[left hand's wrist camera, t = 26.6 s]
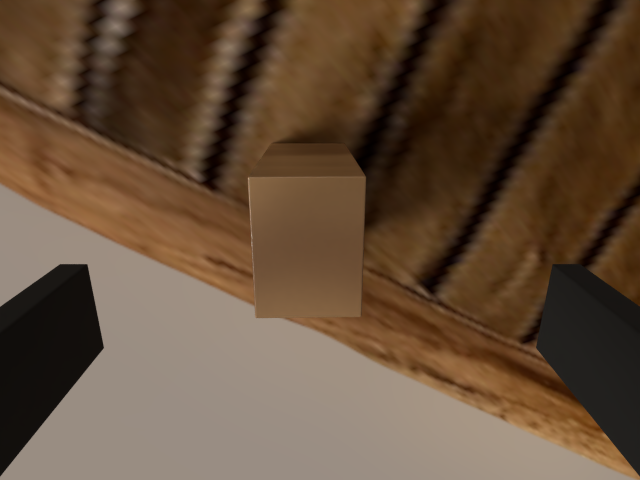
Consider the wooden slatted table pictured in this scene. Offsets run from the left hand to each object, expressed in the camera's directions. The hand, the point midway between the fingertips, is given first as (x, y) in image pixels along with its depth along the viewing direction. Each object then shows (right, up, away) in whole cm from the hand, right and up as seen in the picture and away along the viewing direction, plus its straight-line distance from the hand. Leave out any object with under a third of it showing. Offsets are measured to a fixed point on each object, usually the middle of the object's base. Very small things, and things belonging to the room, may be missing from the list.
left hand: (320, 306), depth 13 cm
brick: (-1, +5, +16) cm, 17 cm away
